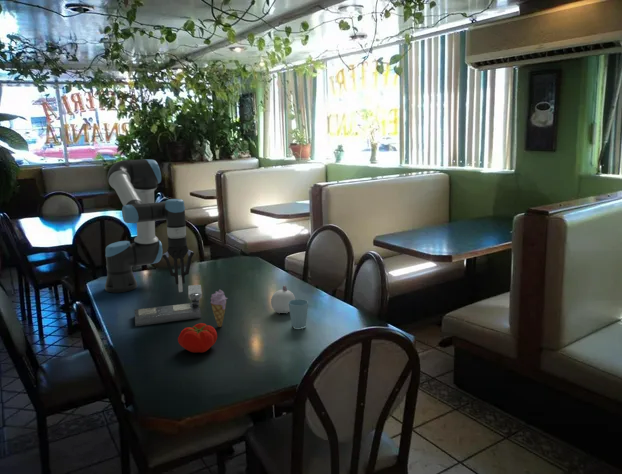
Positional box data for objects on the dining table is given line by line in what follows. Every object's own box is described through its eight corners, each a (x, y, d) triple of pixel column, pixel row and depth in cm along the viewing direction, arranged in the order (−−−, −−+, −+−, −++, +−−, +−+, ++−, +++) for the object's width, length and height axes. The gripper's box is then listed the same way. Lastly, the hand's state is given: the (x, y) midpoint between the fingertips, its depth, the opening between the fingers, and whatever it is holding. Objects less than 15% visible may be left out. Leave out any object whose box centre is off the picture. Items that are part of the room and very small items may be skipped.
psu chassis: (135, 316, 213) (134, 304, 212) (198, 308, 222) (197, 297, 221) (135, 326, 202) (134, 313, 201) (202, 317, 210) (201, 305, 209)
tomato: (182, 361, 170) (181, 336, 168) (176, 347, 181) (175, 324, 180) (222, 353, 175) (221, 330, 174) (214, 340, 187) (213, 318, 185)
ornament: (299, 310, 217) (298, 284, 215) (288, 318, 208) (287, 290, 206) (278, 307, 222) (277, 281, 219) (267, 315, 213) (266, 288, 210)
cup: (302, 332, 194) (302, 306, 192) (285, 329, 197) (285, 303, 195) (311, 325, 200) (311, 300, 198) (295, 322, 204) (294, 298, 202)
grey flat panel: (200, 288, 232) (200, 283, 231) (202, 300, 215) (201, 295, 215) (188, 289, 230) (188, 284, 230) (188, 301, 214) (188, 296, 213)
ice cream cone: (231, 324, 202) (230, 289, 199) (224, 330, 196) (222, 293, 193) (217, 323, 204) (215, 287, 201) (209, 328, 198) (207, 292, 195)
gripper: (161, 239, 202) (165, 295, 207) (194, 237, 206) (197, 291, 211) (160, 236, 209) (164, 290, 214) (192, 233, 213) (195, 287, 218)
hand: (180, 291), depth 212 cm, fingers closed
